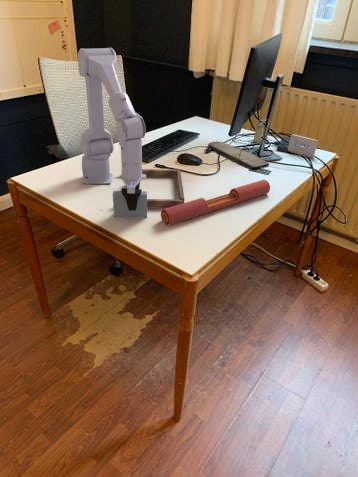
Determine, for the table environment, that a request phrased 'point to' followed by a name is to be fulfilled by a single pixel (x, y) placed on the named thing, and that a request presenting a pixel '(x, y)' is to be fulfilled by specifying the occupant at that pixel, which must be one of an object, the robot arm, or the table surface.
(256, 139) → the lighter
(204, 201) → the blood vessel
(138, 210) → the grey upright plank
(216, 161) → the table surface
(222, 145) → the stone slab
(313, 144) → the cassette
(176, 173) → the rack
